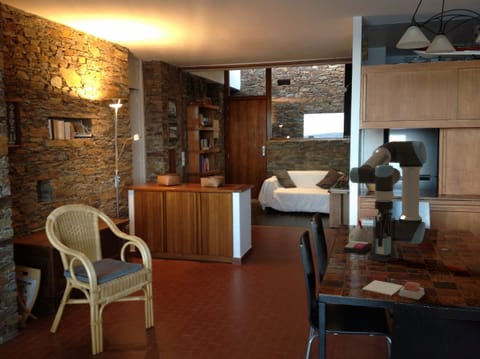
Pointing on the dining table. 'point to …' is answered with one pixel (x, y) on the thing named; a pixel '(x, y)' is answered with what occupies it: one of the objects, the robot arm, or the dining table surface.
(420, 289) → the button base
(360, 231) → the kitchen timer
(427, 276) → the dining table surface
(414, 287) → the button
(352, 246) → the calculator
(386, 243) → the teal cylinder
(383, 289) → the note pad
